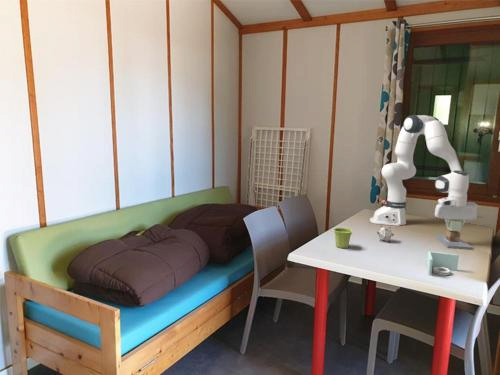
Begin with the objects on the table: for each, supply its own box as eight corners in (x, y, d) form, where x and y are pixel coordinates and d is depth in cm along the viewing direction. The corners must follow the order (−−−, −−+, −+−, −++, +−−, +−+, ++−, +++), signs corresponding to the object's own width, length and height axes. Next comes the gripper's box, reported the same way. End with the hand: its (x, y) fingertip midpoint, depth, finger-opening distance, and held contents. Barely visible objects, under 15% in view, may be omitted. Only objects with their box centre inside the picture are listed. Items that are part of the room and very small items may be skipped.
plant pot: (339, 242, 202) (340, 226, 201) (355, 246, 195) (356, 230, 194) (329, 246, 195) (329, 229, 194) (345, 250, 189) (346, 233, 187)
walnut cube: (449, 241, 204) (450, 232, 203) (446, 239, 208) (447, 230, 208) (459, 242, 203) (460, 233, 202) (455, 239, 208) (456, 230, 207)
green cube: (450, 230, 203) (451, 221, 202) (447, 228, 207) (448, 219, 207) (460, 231, 202) (461, 222, 201) (457, 228, 207) (458, 219, 206)
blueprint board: (447, 248, 197) (447, 245, 197) (434, 237, 216) (434, 234, 216) (472, 249, 195) (472, 247, 195) (457, 238, 215) (457, 236, 215)
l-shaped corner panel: (428, 276, 159) (430, 259, 158) (426, 267, 170) (427, 251, 169) (460, 281, 155) (462, 263, 154) (456, 271, 166) (458, 254, 165)
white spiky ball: (386, 247, 209) (397, 232, 208) (387, 245, 201) (398, 230, 201) (372, 236, 212) (383, 222, 212) (372, 235, 204) (384, 220, 204)
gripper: (475, 201, 204) (472, 226, 206) (434, 199, 207) (432, 224, 209) (480, 203, 198) (477, 229, 200) (438, 201, 201) (436, 227, 203)
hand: (454, 226), depth 204 cm, fingers closed on green cube, 5 cm apart
